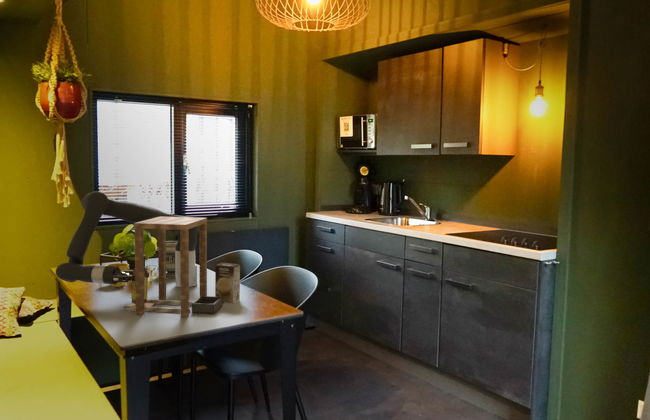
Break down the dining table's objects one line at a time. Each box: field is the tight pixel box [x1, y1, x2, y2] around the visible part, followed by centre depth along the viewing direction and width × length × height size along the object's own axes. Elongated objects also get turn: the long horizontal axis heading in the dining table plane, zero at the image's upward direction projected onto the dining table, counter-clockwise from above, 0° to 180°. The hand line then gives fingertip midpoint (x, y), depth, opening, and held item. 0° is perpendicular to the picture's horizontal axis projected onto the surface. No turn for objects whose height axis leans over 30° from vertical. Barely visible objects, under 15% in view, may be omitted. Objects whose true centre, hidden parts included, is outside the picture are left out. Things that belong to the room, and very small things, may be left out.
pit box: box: [191, 295, 224, 315], centre depth 223 cm, size 9×12×4 cm
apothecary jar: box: [166, 240, 178, 279], centre depth 284 cm, size 12×12×18 cm
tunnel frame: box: [123, 216, 208, 319], centre depth 224 cm, size 28×25×36 cm
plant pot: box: [105, 262, 130, 288], centre depth 262 cm, size 10×10×10 cm
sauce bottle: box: [130, 254, 149, 304], centre depth 225 cm, size 6×6×20 cm
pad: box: [128, 302, 157, 307], centre depth 226 cm, size 9×10×1 cm
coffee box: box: [214, 262, 241, 305], centre depth 237 cm, size 9×6×16 cm
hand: (145, 276), depth 225 cm, fingers closed on sauce bottle, 6 cm apart
